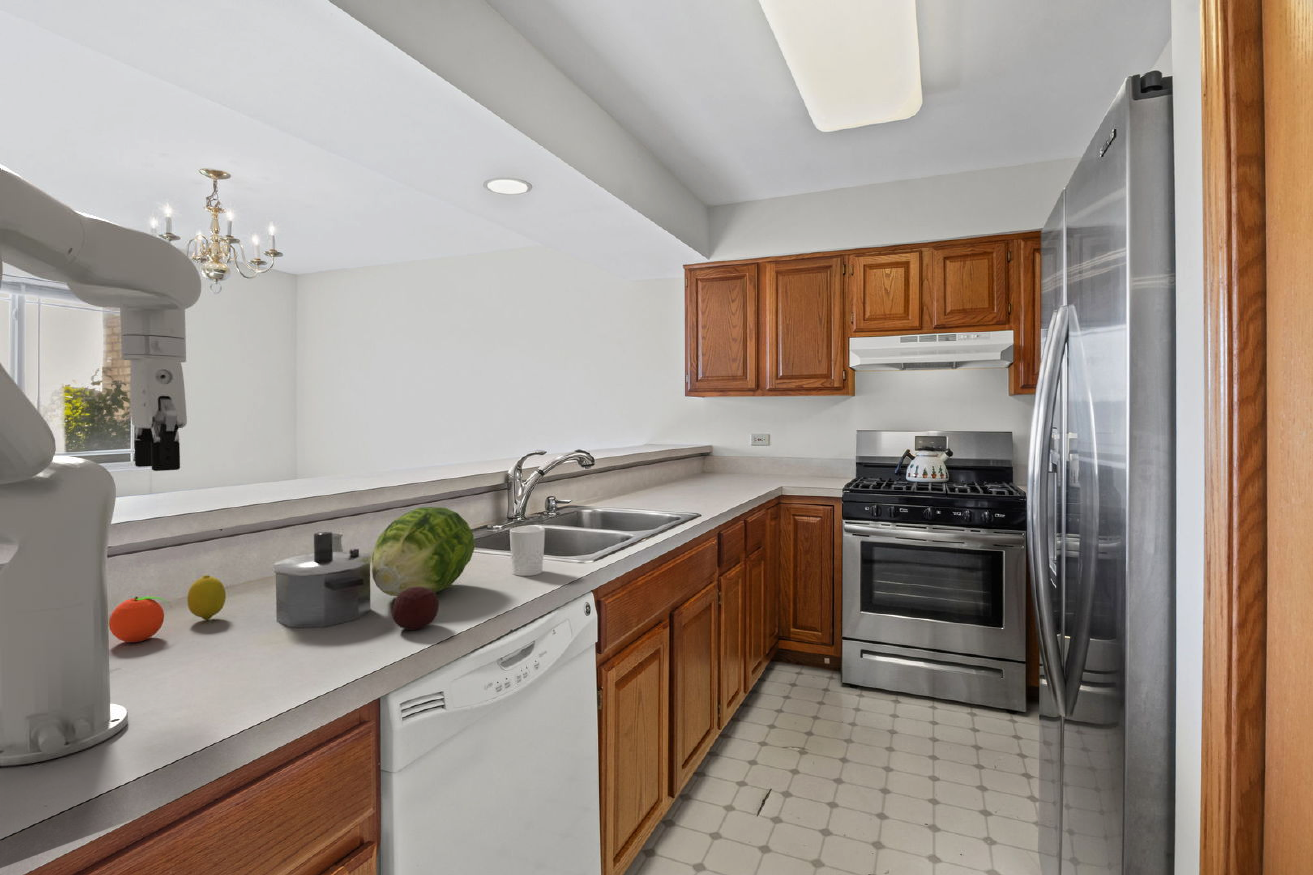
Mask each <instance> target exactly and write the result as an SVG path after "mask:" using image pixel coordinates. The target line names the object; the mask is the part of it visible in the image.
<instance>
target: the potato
mask: <svg viewBox="0 0 1313 875" xmlns="http://www.w3.org/2000/svg"><path fill="white" fill-rule="evenodd" d="M439 605H440V602H439V598H438V595H437V594H436V593H434V591H432V590H431V589H428V588H424V587H412V588H408V589H406V590H404V591H403V592H401V593H400V594H399V595H398V596H395V598H394V603H393V605H392V608H391V609H392V610H391V615H392V620H393V621H394V623H395V624H396V625H397V626H398V627H400V628H401V629H404V630H410V631H415V630H418V629H421V628H424V627H427V626H428V625H429V624H431V623H432V622H434V620H435V618H436V617H437V614H438V612H439Z"/></svg>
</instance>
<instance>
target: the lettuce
mask: <svg viewBox="0 0 1313 875" xmlns="http://www.w3.org/2000/svg"><path fill="white" fill-rule="evenodd" d="M474 539H475V538H474V534H473V532H472V529H471V527H470V526H469V523H468V522H467V521H466V520H465V519H464V518H463V517H462V516H461V515H460V514H459V513H458V512H456V511H453V510H452V509H449V508H447V507H437V506H436V507H434V506H422V507H418V508H416V509H414V510H410V511H409V512H407V513H406V512H405V513H403V515H401V516H400V517H398V518H397V519H395V520H394V521H392V522H391V523H390V524H389V525H388V526H387V527H386V528H385V529H384V530H383V532H381V534H380V535H378V538H377V540H376V541H375V544H374V549H373V551H372V556H371V566H372V567H371V574H372V580H373V581H374V583H375V586H376V587H377V588H378V589H379V590H380V591H381V592H382V593H384V594H386V595H388V596H390V597H397V596H398V595H399V594H400V593H401V592H403V591H404V590H406V589H408V588H412V587H424V588H428V589H431V590H432V591H434V593H435V594H436V593H438V592H440V591H442V590H444V589H446V588H450V587H451V586H452V585H453V584H454V582H455V581H457V579H458V578H459V577H460V576H461V575H462V573H463V572H464V570H465V568H466V566H467V565H468V564H469V563H470V561H471V560H472V557H473V554H474V552H475V551H474V550H475V540H474Z"/></svg>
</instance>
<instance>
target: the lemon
mask: <svg viewBox="0 0 1313 875" xmlns="http://www.w3.org/2000/svg"><path fill="white" fill-rule="evenodd" d="M226 595H227V594H226V590H225V586H224V584H223V583H222V581H221V580H219V579H218V578H216V577H214V576H210V575H209V574H204V575H202V577H201V578H199V579H197V580H195V581H194V582H193V583H192V584H191V585H190V587H189V589H188V593H187V607H188V609H189V611H190V612H191V613H192V615H194V616H196V617H199V618H201V619H203V620H204V621H210V620H211V618H212V617H213V616H215V615H216V614H219V613H220V612H221V610H223V608H224V605H225V602H226V597H227V596H226Z"/></svg>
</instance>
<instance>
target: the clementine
mask: <svg viewBox="0 0 1313 875" xmlns="http://www.w3.org/2000/svg"><path fill="white" fill-rule="evenodd" d="M154 599H155V600H154ZM156 599H157V600H160V601H164V602H165V603H167V604H169V606H170V608H171V609H173V607H172V606H171V604H170V603H169V602H168V601H167V600H165V599H163V598H161V597H157V596H142V597H139V596H135V597H133V598H130V599H126V600H125V601H123V602H122V603H120V604H118V605H117V606H116V607H115V609H114V610H113V611H112V613H111V615H110V617H109V619H108V628H109V630H110V632H111V633H112V635H113V636H114V637H116V638H117V639H118V640H119V641H122V642H125V643H139V642H143V641H145V640H148V639H150V638H152V637H153V636H154V635H155V634H157V632H159V630H160V629H161V628H162V625H163V624H164V619H165V612H164V609H163V606H162V605H161V604H160V603H159V602H157V601H156Z"/></svg>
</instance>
